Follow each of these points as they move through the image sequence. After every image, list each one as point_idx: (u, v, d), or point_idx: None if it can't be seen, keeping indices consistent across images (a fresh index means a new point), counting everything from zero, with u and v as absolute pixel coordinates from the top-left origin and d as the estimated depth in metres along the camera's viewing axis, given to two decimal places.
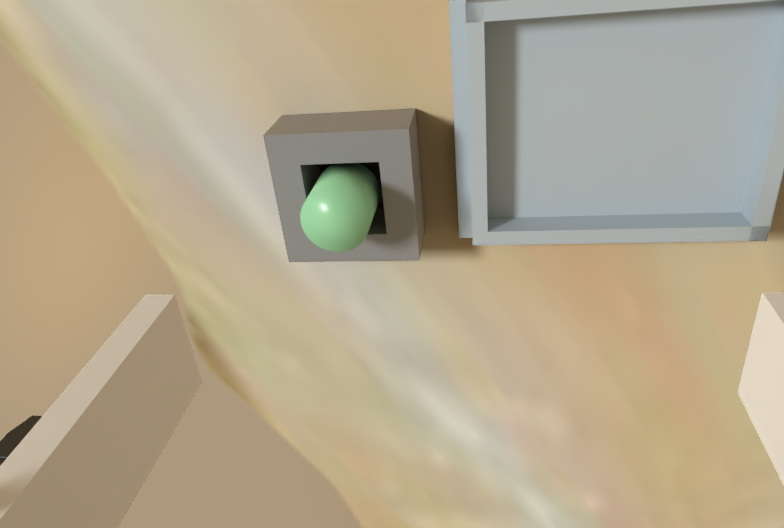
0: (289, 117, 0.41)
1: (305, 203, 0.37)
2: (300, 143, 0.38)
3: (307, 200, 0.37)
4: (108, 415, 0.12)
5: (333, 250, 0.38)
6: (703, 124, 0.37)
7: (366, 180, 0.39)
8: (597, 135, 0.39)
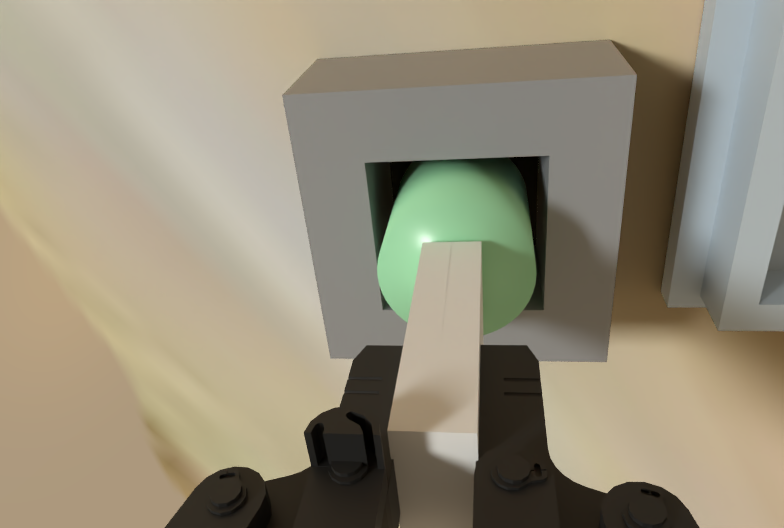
0: (334, 61, 0.20)
1: (391, 235, 0.16)
2: (368, 113, 0.17)
3: (396, 229, 0.16)
4: None
5: None
6: None
7: (513, 182, 0.18)
8: None
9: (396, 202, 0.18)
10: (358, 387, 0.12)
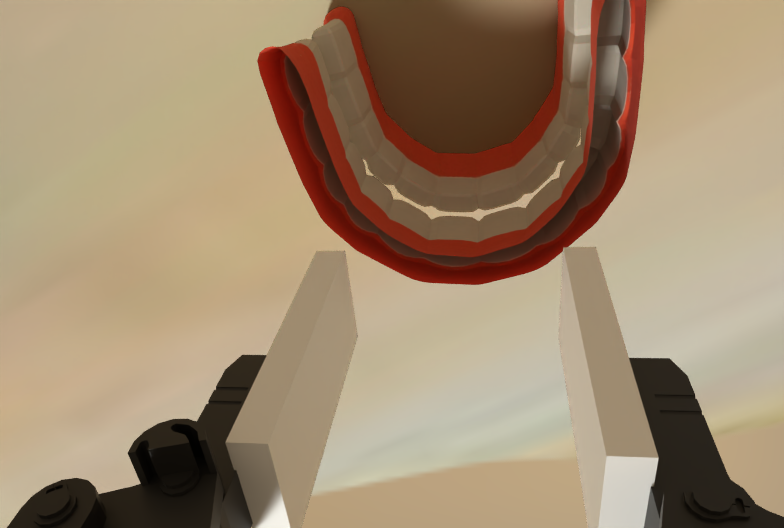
0: None
1: None
2: None
3: None
4: (317, 352, 0.13)
5: None
6: None
7: None
8: None
9: None
10: (222, 397, 0.12)
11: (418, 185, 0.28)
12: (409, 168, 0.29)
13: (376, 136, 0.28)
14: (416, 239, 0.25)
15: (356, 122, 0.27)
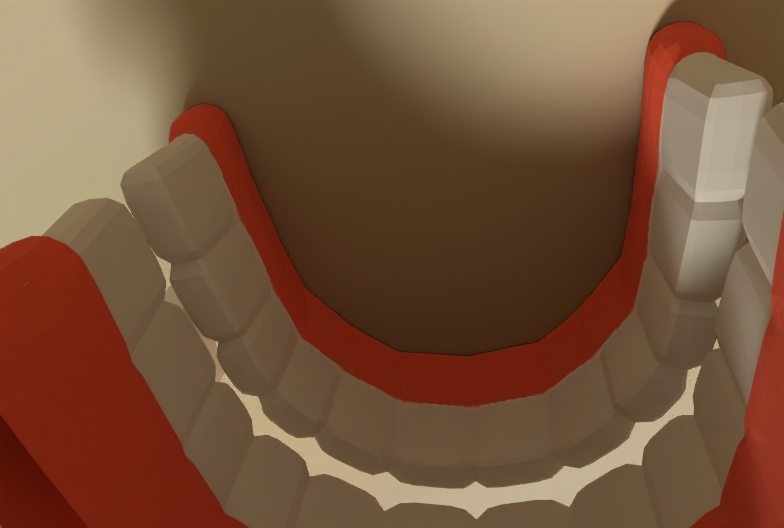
0: None
1: None
2: None
3: None
4: None
5: None
6: None
7: None
8: None
9: None
10: None
11: (360, 444, 0.14)
12: (346, 397, 0.15)
13: (279, 349, 0.14)
14: None
15: (231, 338, 0.13)
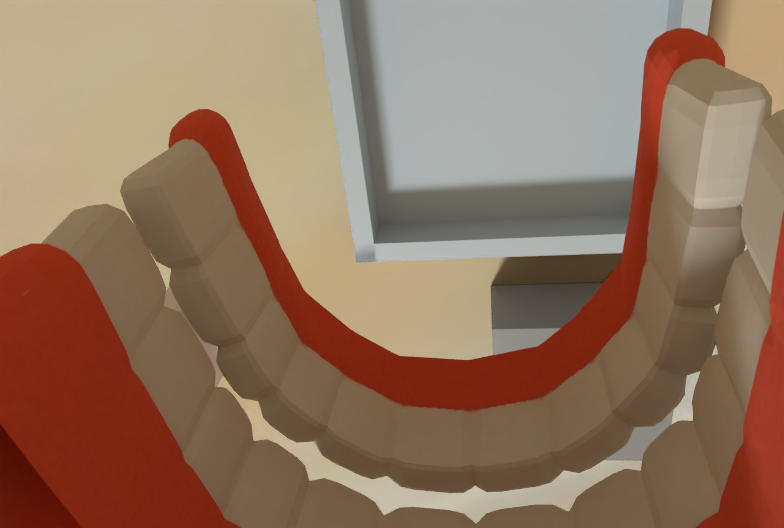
0: None
1: None
2: None
3: None
4: None
5: None
6: None
7: None
8: (529, 79, 0.27)
9: None
10: None
11: (359, 448, 0.14)
12: (346, 402, 0.15)
13: (278, 354, 0.14)
14: None
15: (231, 343, 0.13)
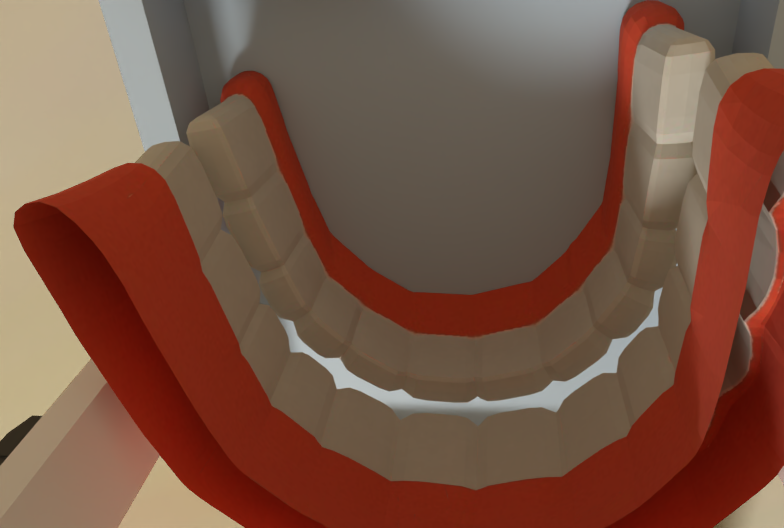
0: None
1: None
2: None
3: None
4: (108, 414, 0.12)
5: None
6: (473, 80, 0.16)
7: None
8: (492, 286, 0.18)
9: None
10: None
11: (379, 362, 0.17)
12: (366, 326, 0.18)
13: (310, 281, 0.17)
14: (367, 490, 0.14)
15: (273, 267, 0.16)
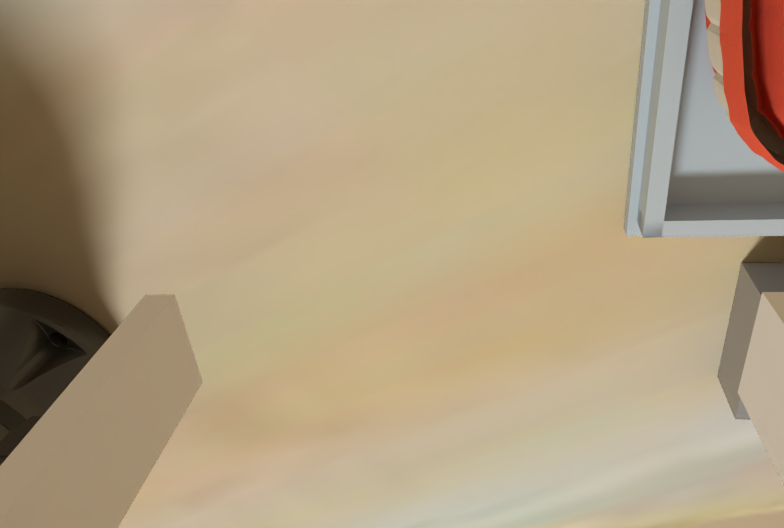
0: (720, 373, 0.42)
1: None
2: None
3: None
4: (108, 414, 0.12)
5: None
6: None
7: None
8: None
9: None
10: None
11: None
12: None
13: None
14: None
15: None
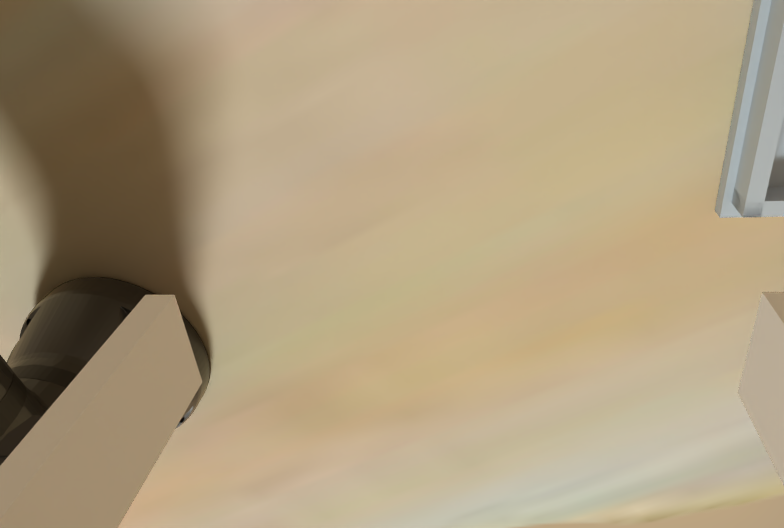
0: None
1: None
2: None
3: None
4: (108, 414, 0.12)
5: None
6: None
7: None
8: None
9: None
10: None
11: None
12: None
13: None
14: None
15: None
